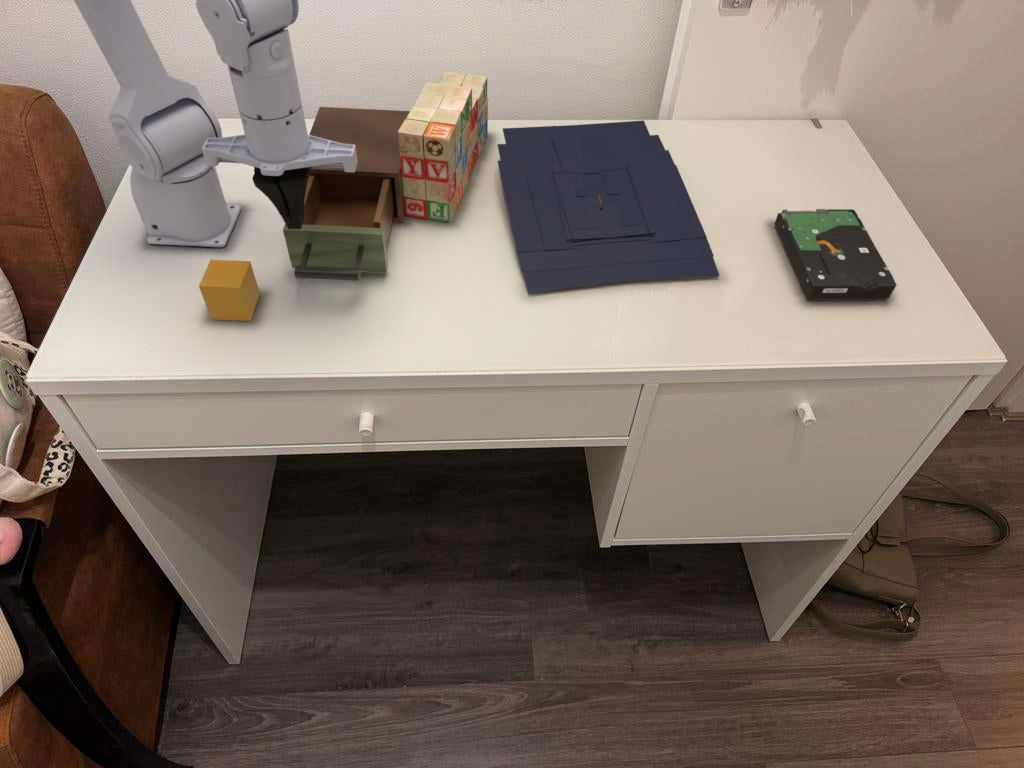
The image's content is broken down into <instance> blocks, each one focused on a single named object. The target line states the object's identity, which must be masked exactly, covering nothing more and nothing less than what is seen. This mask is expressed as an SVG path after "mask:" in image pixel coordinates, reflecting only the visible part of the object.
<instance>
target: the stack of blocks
mask: <svg viewBox="0 0 1024 768" xmlns="http://www.w3.org/2000/svg"><path fill="white" fill-rule="evenodd" d="M409 111H410V112H409V114H408V116H407V118H406V119H405V120H404V122H403V124H402V126H401V127H400V129H399V131H398V139H399V149H400V165H401V175H402V182H403V194H404V196H403V199H404V210H405V217H411V218H416V219H424V220H431V221H437V222H444V223H449V224H450V223H451V222H452V220H453V218H454V215H455V213H456V211H457V209H458V208H459V205H460V203H461V200H462V198H463V196H464V194H465V192H466V189H467V187H468V185H469V180H470V178H471V175H472V172H473V169H474V167H475V165H476V163H477V160H478V159H479V157H480V155H481V153H482V150H483V148H484V146H485V144H486V141H487V138H488V135H489V132H488V131H489V130H488V126H489V123H488V122H489V97H488V76H485V75H484V76H483V75H477V74H470V73H460V72H453V71H444V72H443V74H442V75H441V77H440V80H439V82H438V83H437V82H430V81H426V82H425V84H424V85H423V87H422V89H421V91H420V94H419V95H418V97H417V99H416V101H415V103H414V105H413V106H412V107H411V109H410V110H409Z"/></svg>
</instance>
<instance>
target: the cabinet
mask: <svg viewBox="0 0 1024 768" xmlns="http://www.w3.org/2000/svg"><path fill="white" fill-rule="evenodd" d="M410 111H411V110H393V109H392V110H391V109H373V108H356V107H355V108H353V107H352V108H351V107H334V106H333V107H331V106H319V108H318V110H317V112H316V115H315V118H314V121H313V123H312V126H311V129H310V132H309V134H308V135H312V136H315V137H319V138H323V139H327V140H331V141H334V142H338V143H344V144H353V145H356V152H357V160H358V162H357V166H356V170H355V172H345V171H344V168H329V167H312V168H311V171H310V173H311V174H332V175H353V176H374V177H393V178H394V189H395V199H396V205H395V210H394V214H393V219H392V223H402V224H403V223H405V222H404V221H405V217H406V216H405V210H404V199H403V196H404V194H403V182H402V175H401V165H400V149H399V139H398V131H399V129H400V127H401V126H402V124H403V122H404V120H405V119H406V118H407V116H408V114H409V112H410Z"/></svg>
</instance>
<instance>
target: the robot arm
mask: <svg viewBox="0 0 1024 768" xmlns="http://www.w3.org/2000/svg"><path fill="white" fill-rule="evenodd" d="M73 1H74V3H75V5H76V7H77V9H78V11H79V12H80V14H81V16H82V19H83V20H84V22H85V24H86V25H87V27H88V29H89V31H90V33H91V34H92V37H93V38H94V40H95V42H96V44H97V46H98V47H99V50H100V51H101V53H102V55H103V57H104V59H105V61H106V62H107V65H108V66H109V68H110V70H111V72H112V73H113V75H114V77H115V79H116V81H117V83H118V85H119V86H120V89H119V92H118V94H117V97H116V98H115V101H114V103H113V105H112V107H111V110H110V112H109V114H108V120H109V122H110V125H111V127H112V129H113V131H114V134H115V135H116V138H117V142H118V146H119V148H120V151H121V154H123V156H124V159H126V161H127V162H128V164H129V166H131V172H130V177H129V179H130V180H129V181H130V182H129V183H130V192H131V195H132V198H133V201H134V203H135V206H136V208H137V211H138V213H139V216H140V218H141V220H142V223H143V225H144V228H145V231H146V233H147V235H148V236H147V238H146V241H147V242H146V243H148V244H150V245H165V246H167V245H168V246H187V247H211V248H224V247H226V245H227V243H228V240H229V238H230V236H231V234H232V232H233V229H234V226H235V225H236V222H237V219H238V217H239V215H240V213H241V206H240V205H237V204H236V205H235V204H227V202H226V198H225V195H224V192H223V189H222V186H221V182H220V179H219V176H218V172H217V169H216V167H217V166H218V165H219V164H220V163H225V164H243V165H246V166H249V167H253V168H254V169H253V172H254V173H253V176H252V177H251V178H252V182H253V184H254V187H255V188H257V189H258V190H259V191H260V192H262V194H264V195H265V197H266V198H267V199H268V200H269V201H270V202H271V203H272V205H273V206H274V207H275V209H276V210H277V212H278V214H279V215H280V217H281V218H282V221H283V222H284V223H285V224H286V226H287V228H288V229H301V227H302V224H303V221H304V200H305V192H306V187H307V182H308V178H309V175H310V171H311V168H312V167H329V168H344V171H345V172H355V170H356V166H357V162H358V160H357V152H356V145H353V144H344V143H338V142H334V141H331V140H327V139H323V138H319V137H315V136H312V135H309V134H308V130H307V124H306V118H305V113H304V109H303V104H302V102H303V101H302V97H301V93H300V86H299V82H298V76H297V69H296V65H295V59H294V53H293V48H292V44H291V43H292V42H291V37H290V31H289V29H288V27H289V26H291V25H293V24H294V23H295V22H296V21H297V19H298V16H299V11H300V6H299V5H300V4H299V0H195V1H196V2H195V7H196V9H197V13H198V15H199V17H200V19H201V21H202V23H203V25H204V26H205V29H206V30H207V32H208V33H209V34H210V36H211V38H212V41H213V43H214V46H215V49H216V54H217V55H218V56H219V58H220V60H221V62H222V63H224V64H226V66H227V70H228V73H229V77H230V81H231V85H232V90H233V93H234V96H235V101H236V105H237V109H238V114H239V117H240V121H241V124H242V125H241V126H242V128H243V129H242V130H243V132H244V133H243V134H239V135H232V136H223V131H222V127H221V124H220V121H219V119H218V117H217V116H216V114H215V113H214V111H213V109H212V108H211V107H210V106H209V105H208V103H206V101H205V99H204V98H203V96H202V95H201V93H200V91H199V89H198V88H197V86H196V85H195V84H194V83H192V82H190V81H188V80H186V79H181V78H179V77H175V76H172V75H170V74H168V72H167V70H166V68H165V66H164V64H163V62H162V60H161V58H160V56H159V54H158V52H157V50H156V48H155V46H154V44H153V42H152V40H151V38H150V36H149V34H148V32H147V30H146V28H145V26H144V24H143V22H142V21H141V19H140V16H139V14H138V12H137V10H136V8H135V6H134V4H133V2H132V0H73ZM285 224H284V225H285Z"/></svg>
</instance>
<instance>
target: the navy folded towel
mask: <svg viewBox="0 0 1024 768" xmlns="http://www.w3.org/2000/svg"><path fill="white" fill-rule="evenodd" d="M502 133H503V137H504V142H505V143H498V144H497V150H498V155H499V160H497V165H498V170H499V171H498V172H499V176H500V181H501V186H502V190H503V195H504V199H505V204H506V207H507V213H508V218H509V221H510V225H511V231H512V235H513V239H514V244H515V248H516V254H517V258H518V262H519V266H520V271H521V273H522V274H523V278H524V282H525V285H526V288H527V289H526V290H527V293H529V294H531V293H539V292H546V291H554V290H562V289H572V288H580V287H586V286H596V285H603V284H612V283H621V282H631V281H633V282H635V281H654V280H670V279H671V280H672V279H689V278H707V277H720V272H719V270H718V267H717V264H716V261H715V258H714V257H715V255H714V253H713V251H712V248H711V246H710V242H709V240H708V237H707V234H706V232H705V229H704V227H703V225H702V223H701V220H700V218H699V215H698V213H697V210H696V209H695V206H694V204H693V201H692V199H691V196H690V194H689V192H688V190H687V187H686V185H685V183H684V180H683V178H682V175H681V174H680V173H681V172H680V171H679V168H678V166H677V164H675V162H674V159H673V157H672V155H671V153H670V150H669V149H666V148H665V146H664V144H663V142H662V139H661V138H660V136H659V134H652V135H651V134H650V132H649V129H648V127H647V124H646V122H645V120H631V121H615V122H614V121H613V122H600V123H585V124H568V125H548V126H547V125H545V126H526V127H524V126H523V127H503V128H502Z"/></svg>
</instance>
